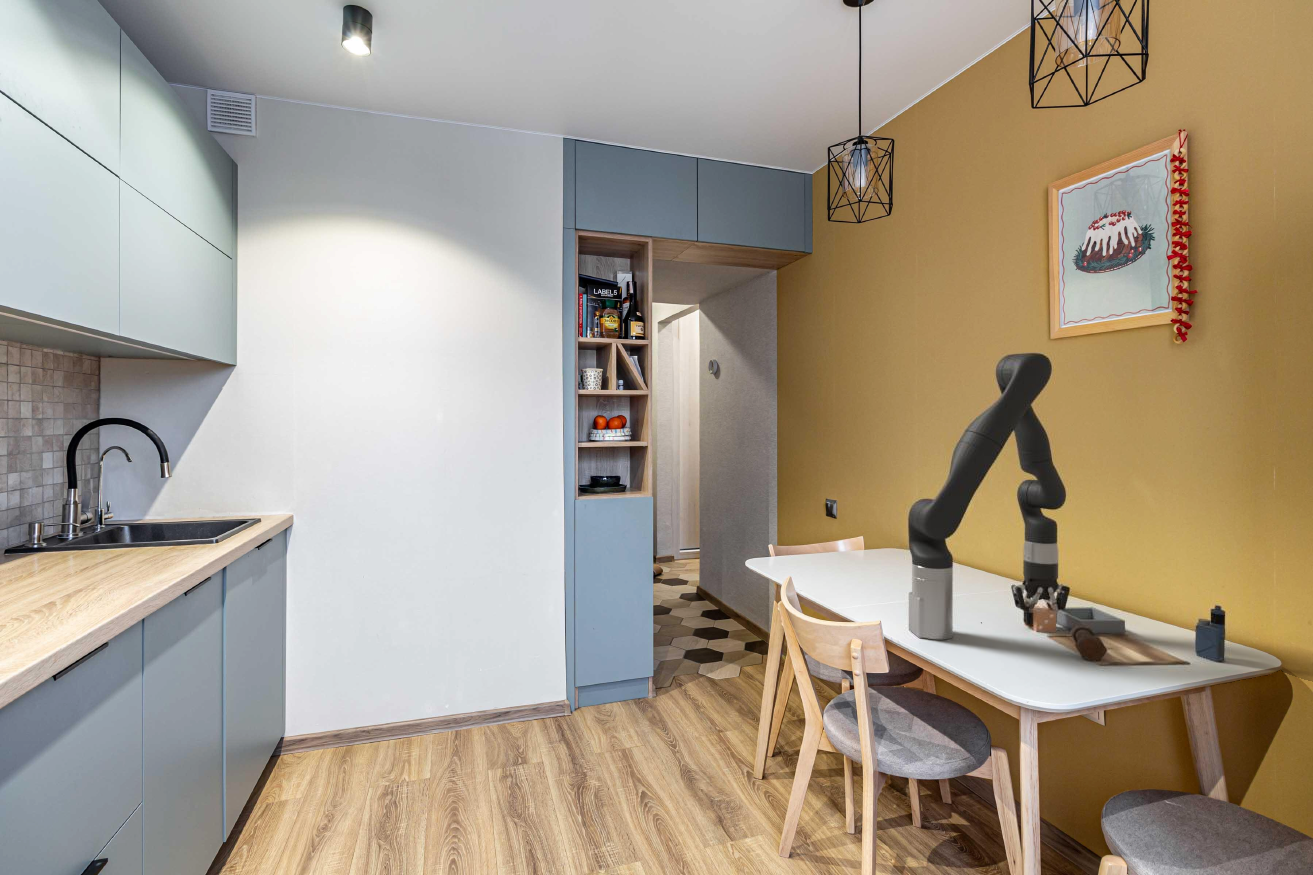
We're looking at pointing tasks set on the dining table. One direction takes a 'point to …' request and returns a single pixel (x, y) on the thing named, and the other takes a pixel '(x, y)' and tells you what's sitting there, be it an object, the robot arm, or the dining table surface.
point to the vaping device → (1211, 636)
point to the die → (1043, 619)
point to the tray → (1090, 620)
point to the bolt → (1088, 643)
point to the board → (1124, 651)
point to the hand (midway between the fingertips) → (1040, 625)
